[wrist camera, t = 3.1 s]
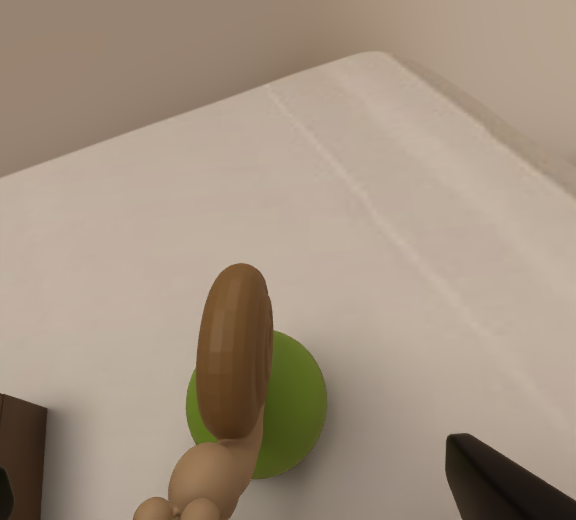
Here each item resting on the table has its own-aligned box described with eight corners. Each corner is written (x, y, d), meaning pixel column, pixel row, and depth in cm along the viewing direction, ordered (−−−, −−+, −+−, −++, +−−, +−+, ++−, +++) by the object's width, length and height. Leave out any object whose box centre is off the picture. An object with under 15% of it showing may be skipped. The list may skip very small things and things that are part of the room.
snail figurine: (192, 507, 15) (-38, 543, 5) (211, 352, 18) (100, 181, 8) (326, 511, 15) (379, 553, 5) (321, 353, 18) (346, 179, 8)
